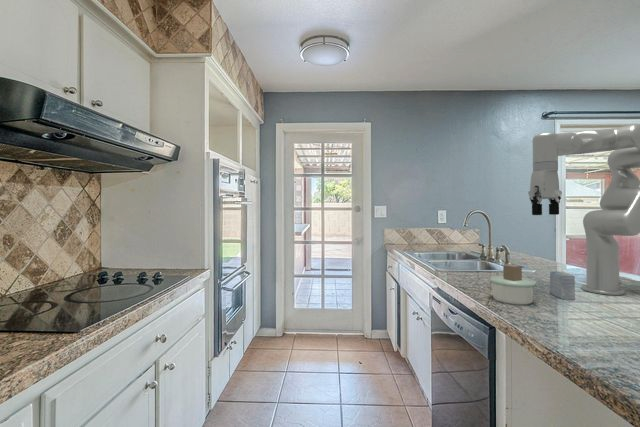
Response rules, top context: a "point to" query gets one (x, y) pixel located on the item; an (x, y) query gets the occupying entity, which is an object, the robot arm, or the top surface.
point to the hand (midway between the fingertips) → (545, 214)
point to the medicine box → (562, 285)
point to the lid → (513, 278)
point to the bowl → (513, 294)
